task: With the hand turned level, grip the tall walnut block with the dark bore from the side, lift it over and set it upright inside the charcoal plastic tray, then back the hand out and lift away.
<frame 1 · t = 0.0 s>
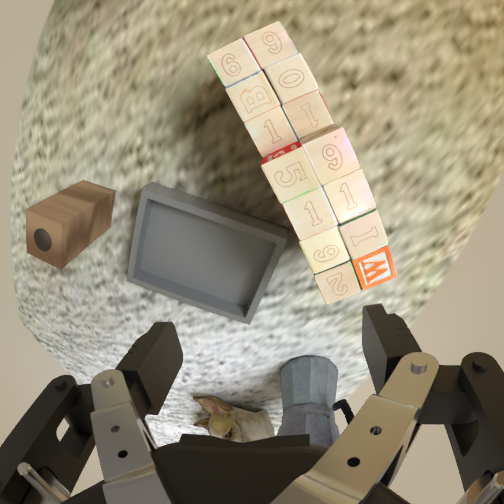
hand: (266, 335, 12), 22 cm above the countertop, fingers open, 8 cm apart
moka pot: (309, 370, 44), on the countertop
ceramic sculpture: (236, 409, 50), on the countertop
walnut block: (96, 203, 35), on the countertop
stack of blocks: (300, 145, 30), on the countertop
charcoal tray: (204, 250, 36), on the countertop
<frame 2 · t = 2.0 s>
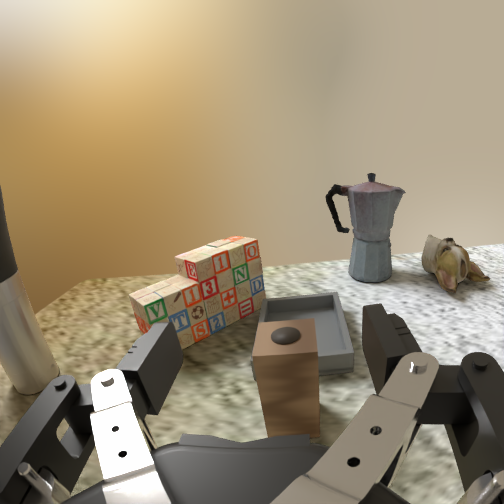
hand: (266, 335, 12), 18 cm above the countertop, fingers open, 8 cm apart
moka pot: (368, 275, 59), on the countertop
ceramic sculpture: (448, 282, 49), on the countertop
walnut block: (294, 420, 28), on the countertop
stack of blocks: (208, 326, 50), on the countertop
charcoal tray: (302, 339, 42), on the countertop
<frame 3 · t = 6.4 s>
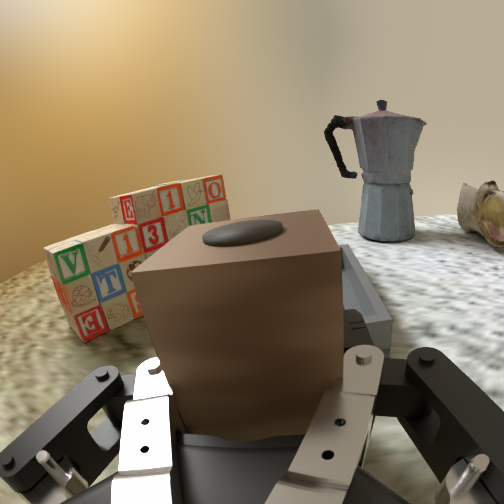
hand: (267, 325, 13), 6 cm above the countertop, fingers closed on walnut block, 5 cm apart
moka pot: (385, 236, 43), on the countertop
ceramic sculpture: (492, 241, 34), on the countertop
walnut block: (280, 456, 12), on the countertop, touching gripper
stack of blocks: (157, 299, 34), on the countertop
charcoal tray: (297, 311, 26), on the countertop
when the fingers open (8 cm above the countertop, at t = 11.9 s): walnut block drops 1 cm, resting on charcoal tray.
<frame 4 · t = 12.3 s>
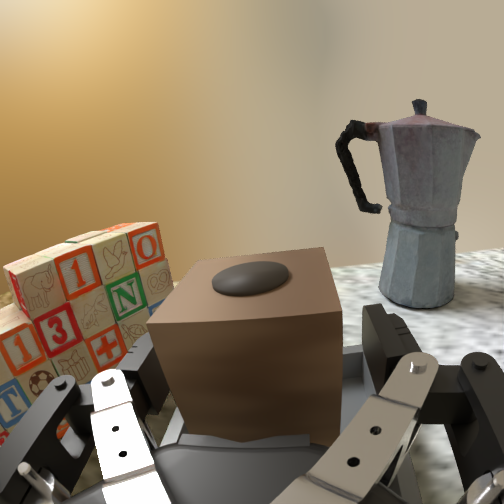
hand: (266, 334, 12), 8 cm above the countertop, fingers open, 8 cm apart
moka pot: (414, 293, 30), on the countertop
walnut block: (283, 470, 13), point 1 cm above the countertop, touching charcoal tray
stack of blocks: (85, 400, 21), on the countertop
charcoal tray: (283, 477, 13), on the countertop
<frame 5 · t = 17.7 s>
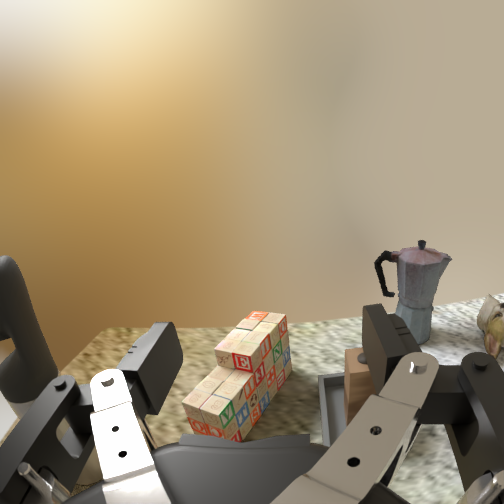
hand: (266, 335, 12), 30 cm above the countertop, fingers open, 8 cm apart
moka pot: (408, 335, 56), on the countertop
ceramic sculpture: (496, 342, 44), on the countertop
walnut block: (361, 414, 39), point 1 cm above the countertop, touching charcoal tray
stack of blocks: (250, 405, 46), on the countertop
charcoal tray: (360, 417, 39), on the countertop
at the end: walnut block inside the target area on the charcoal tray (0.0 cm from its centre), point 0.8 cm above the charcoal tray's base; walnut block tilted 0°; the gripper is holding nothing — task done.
